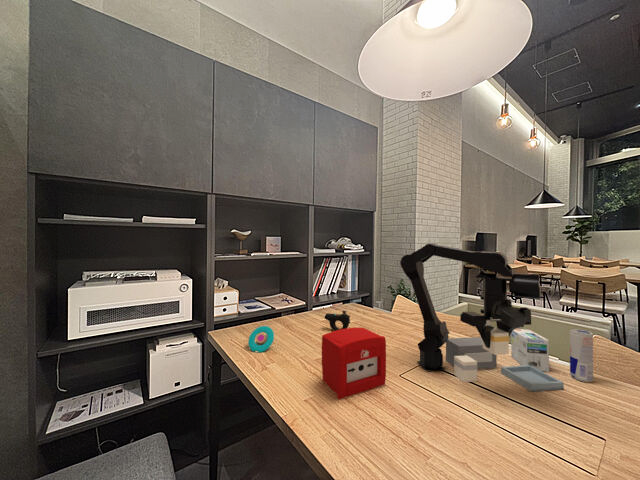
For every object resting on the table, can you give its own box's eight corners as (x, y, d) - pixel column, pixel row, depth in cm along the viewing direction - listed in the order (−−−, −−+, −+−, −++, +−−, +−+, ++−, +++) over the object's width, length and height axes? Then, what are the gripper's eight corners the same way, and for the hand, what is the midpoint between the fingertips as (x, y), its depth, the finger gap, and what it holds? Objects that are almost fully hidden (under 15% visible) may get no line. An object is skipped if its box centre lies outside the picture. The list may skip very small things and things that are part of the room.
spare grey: (463, 382, 78) (463, 362, 78) (453, 374, 83) (453, 355, 83) (477, 381, 79) (477, 361, 79) (466, 373, 83) (466, 355, 84)
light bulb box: (550, 372, 85) (550, 339, 85) (526, 370, 86) (526, 338, 86) (530, 358, 95) (530, 329, 95) (510, 356, 96) (510, 327, 97)
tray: (531, 391, 73) (531, 384, 73) (500, 373, 84) (500, 366, 84) (563, 389, 75) (563, 382, 75) (529, 371, 85) (529, 365, 85)
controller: (348, 334, 118) (349, 312, 118) (323, 331, 122) (323, 310, 123) (350, 331, 122) (351, 310, 122) (326, 328, 126) (326, 308, 127)
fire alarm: (340, 400, 69) (340, 344, 69) (321, 381, 78) (321, 332, 78) (386, 385, 76) (386, 335, 76) (364, 369, 86) (364, 324, 86)
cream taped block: (494, 354, 73) (494, 333, 73) (482, 348, 78) (482, 328, 78) (509, 353, 74) (508, 332, 74) (496, 347, 78) (496, 327, 78)
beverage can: (586, 376, 82) (586, 329, 82) (597, 384, 77) (597, 334, 77) (566, 373, 84) (566, 327, 84) (576, 381, 79) (575, 332, 79)
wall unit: (459, 371, 85) (459, 346, 85) (445, 360, 93) (445, 338, 93) (497, 368, 87) (497, 344, 87) (480, 358, 95) (480, 336, 95)
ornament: (280, 336, 106) (261, 326, 110) (278, 331, 103) (258, 321, 106) (265, 360, 100) (245, 349, 103) (263, 356, 97) (242, 345, 100)
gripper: (487, 301, 67) (487, 361, 66) (550, 299, 69) (550, 357, 69) (459, 292, 78) (459, 344, 78) (514, 291, 80) (514, 341, 80)
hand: (495, 347), depth 76 cm, fingers closed on cream taped block, 4 cm apart
